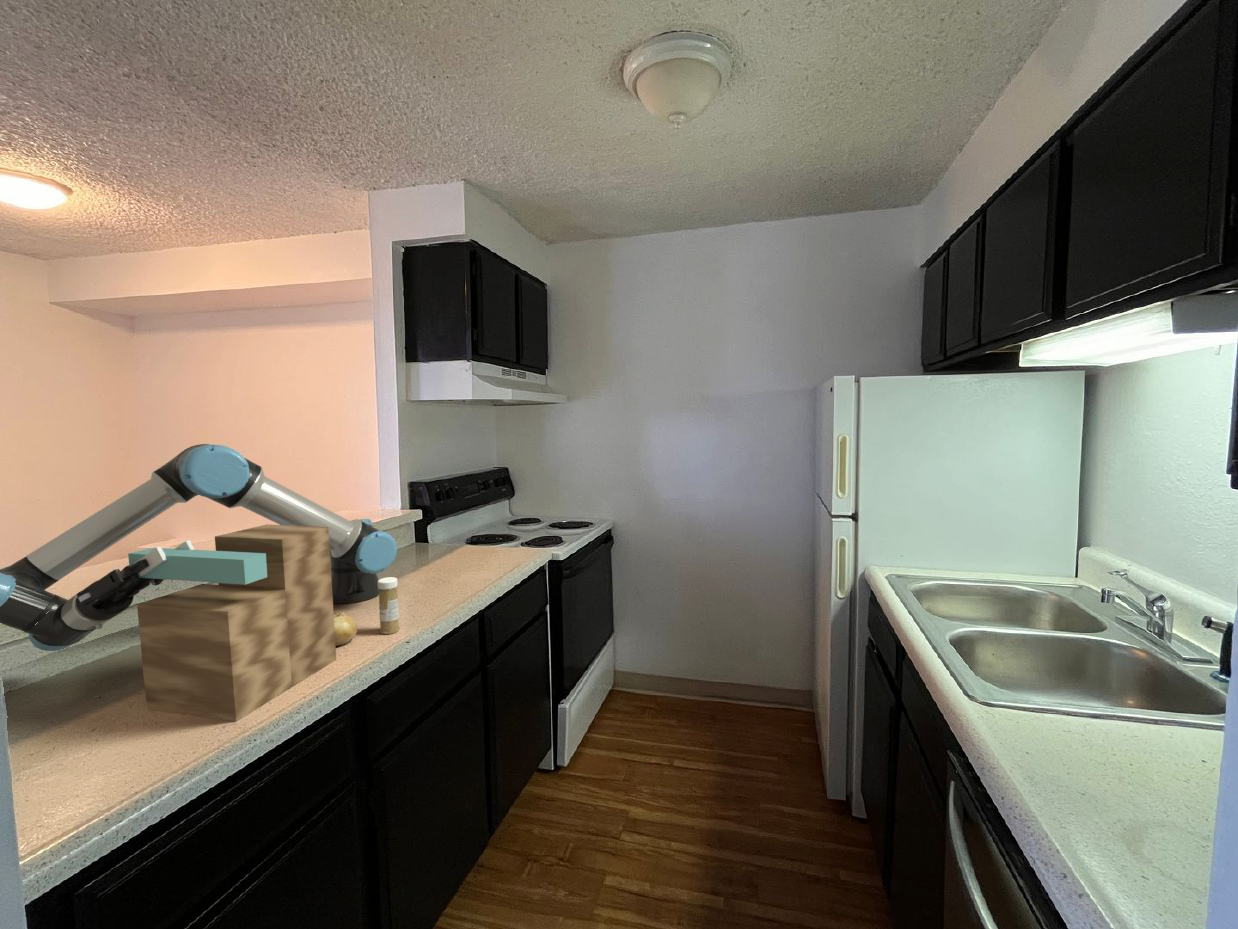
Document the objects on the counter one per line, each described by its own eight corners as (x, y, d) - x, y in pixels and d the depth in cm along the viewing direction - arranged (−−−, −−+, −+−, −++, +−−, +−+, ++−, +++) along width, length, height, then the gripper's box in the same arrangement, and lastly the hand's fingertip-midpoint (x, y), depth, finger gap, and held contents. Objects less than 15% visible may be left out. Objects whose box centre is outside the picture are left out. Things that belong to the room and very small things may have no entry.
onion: (364, 640, 125) (362, 612, 124) (330, 653, 118) (328, 623, 118) (346, 633, 129) (345, 605, 129) (313, 644, 123) (311, 615, 122)
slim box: (156, 570, 101) (154, 547, 101) (267, 577, 96) (265, 553, 96) (130, 577, 97) (128, 553, 96) (245, 584, 92) (243, 559, 91)
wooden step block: (261, 652, 119) (251, 523, 116) (336, 659, 115) (328, 526, 112) (146, 709, 95) (131, 550, 93) (236, 721, 91) (223, 555, 89)
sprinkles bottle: (376, 631, 130) (374, 579, 128) (394, 626, 133) (392, 575, 132) (385, 636, 127) (382, 583, 126) (403, 630, 130) (400, 578, 129)
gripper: (156, 604, 110) (230, 555, 105) (51, 638, 93) (133, 581, 88) (139, 573, 111) (212, 523, 106) (32, 601, 94) (113, 543, 88)
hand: (176, 550), depth 97 cm, fingers closed on slim box, 4 cm apart
